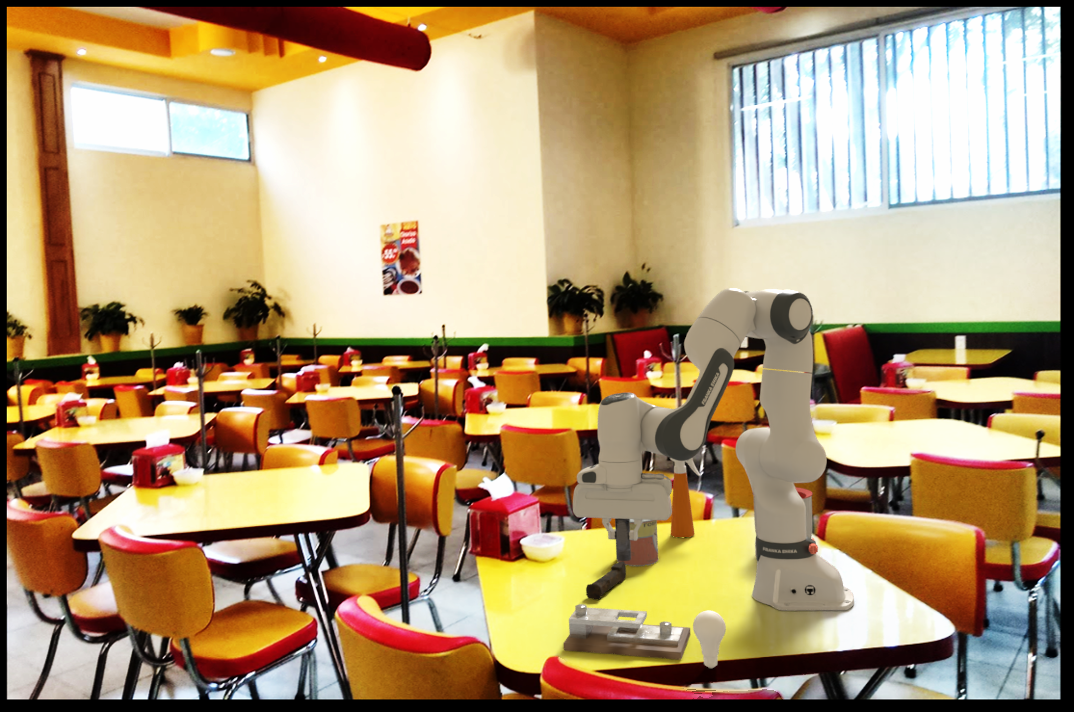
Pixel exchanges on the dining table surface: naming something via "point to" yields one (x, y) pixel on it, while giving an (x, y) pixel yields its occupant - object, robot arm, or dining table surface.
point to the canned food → (644, 544)
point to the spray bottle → (682, 501)
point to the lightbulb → (709, 635)
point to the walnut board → (625, 645)
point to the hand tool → (606, 581)
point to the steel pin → (623, 539)
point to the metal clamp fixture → (622, 626)
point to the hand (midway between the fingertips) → (623, 539)
